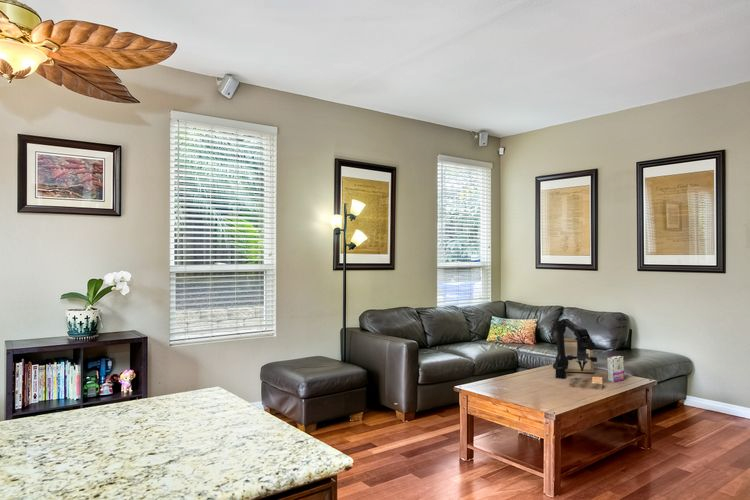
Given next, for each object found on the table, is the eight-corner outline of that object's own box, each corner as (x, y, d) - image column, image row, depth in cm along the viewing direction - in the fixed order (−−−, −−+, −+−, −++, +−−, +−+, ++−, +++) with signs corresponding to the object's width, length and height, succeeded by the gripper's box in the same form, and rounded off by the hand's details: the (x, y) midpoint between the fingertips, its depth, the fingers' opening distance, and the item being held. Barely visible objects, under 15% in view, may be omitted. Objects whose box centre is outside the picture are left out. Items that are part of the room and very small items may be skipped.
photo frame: (594, 373, 368) (593, 339, 369) (563, 372, 373) (562, 339, 374) (590, 369, 383) (589, 336, 384) (560, 368, 388) (559, 336, 389)
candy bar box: (618, 378, 353) (617, 355, 353) (624, 380, 349) (624, 356, 349) (607, 380, 348) (606, 357, 348) (613, 382, 344) (613, 358, 344)
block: (592, 386, 330) (592, 378, 330) (592, 384, 335) (592, 376, 335) (602, 387, 327) (602, 379, 327) (602, 384, 333) (602, 377, 333)
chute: (569, 386, 334) (568, 380, 334) (569, 383, 343) (569, 376, 343) (602, 389, 326) (601, 382, 326) (601, 385, 335) (601, 379, 335)
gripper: (566, 348, 332) (566, 372, 331) (596, 350, 324) (597, 374, 324) (567, 346, 342) (567, 369, 342) (596, 347, 334) (597, 371, 334)
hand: (582, 371), depth 335 cm, fingers closed
